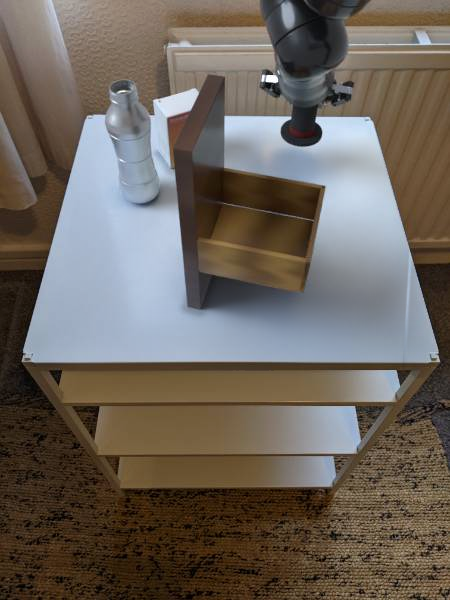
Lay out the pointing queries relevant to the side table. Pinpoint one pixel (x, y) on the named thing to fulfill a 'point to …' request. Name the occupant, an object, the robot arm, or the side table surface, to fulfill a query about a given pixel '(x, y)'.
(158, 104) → the small box
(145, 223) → the side table surface
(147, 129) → the plastic bottle
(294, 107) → the hat
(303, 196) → the wooden drawer
